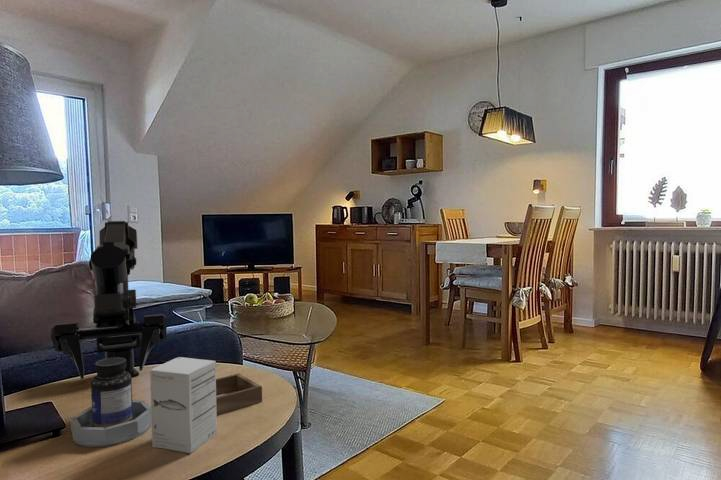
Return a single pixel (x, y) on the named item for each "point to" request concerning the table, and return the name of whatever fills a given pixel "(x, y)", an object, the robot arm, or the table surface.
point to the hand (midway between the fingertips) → (112, 373)
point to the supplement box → (183, 404)
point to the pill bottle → (111, 393)
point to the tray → (111, 427)
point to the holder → (236, 393)
